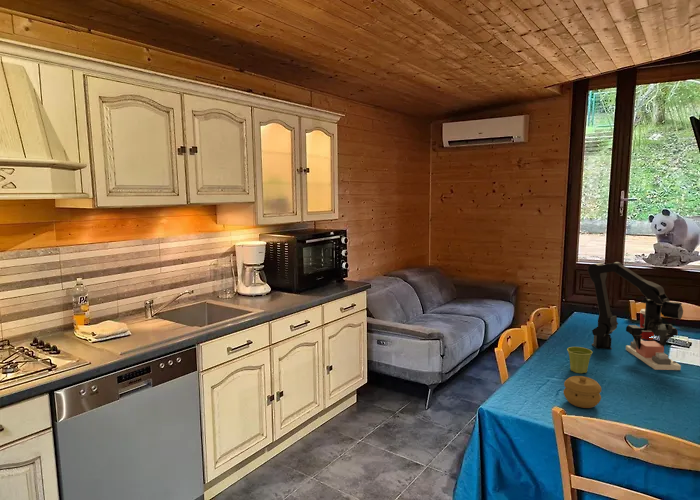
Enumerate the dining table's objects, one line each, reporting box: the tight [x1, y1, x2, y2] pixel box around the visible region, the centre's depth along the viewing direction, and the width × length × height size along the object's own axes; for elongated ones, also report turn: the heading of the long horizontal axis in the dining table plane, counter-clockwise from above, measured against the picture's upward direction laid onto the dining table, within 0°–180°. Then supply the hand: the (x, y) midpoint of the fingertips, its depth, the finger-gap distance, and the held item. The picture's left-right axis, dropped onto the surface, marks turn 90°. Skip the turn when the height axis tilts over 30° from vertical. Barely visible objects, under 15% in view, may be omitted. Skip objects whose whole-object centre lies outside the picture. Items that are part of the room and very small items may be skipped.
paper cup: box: [639, 308, 655, 341], centre depth 236 cm, size 8×8×14 cm
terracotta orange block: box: [636, 340, 665, 358], centre depth 208 cm, size 7×7×5 cm
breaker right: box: [655, 352, 669, 359], centre depth 199 cm, size 3×3×2 cm
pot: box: [562, 375, 602, 409], centre depth 166 cm, size 12×12×10 cm
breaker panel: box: [625, 341, 682, 371], centre depth 208 cm, size 10×24×4 cm, turn 176°
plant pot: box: [566, 346, 593, 374], centre depth 195 cm, size 9×9×9 cm
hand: (649, 349), depth 208 cm, fingers open, 9 cm apart
